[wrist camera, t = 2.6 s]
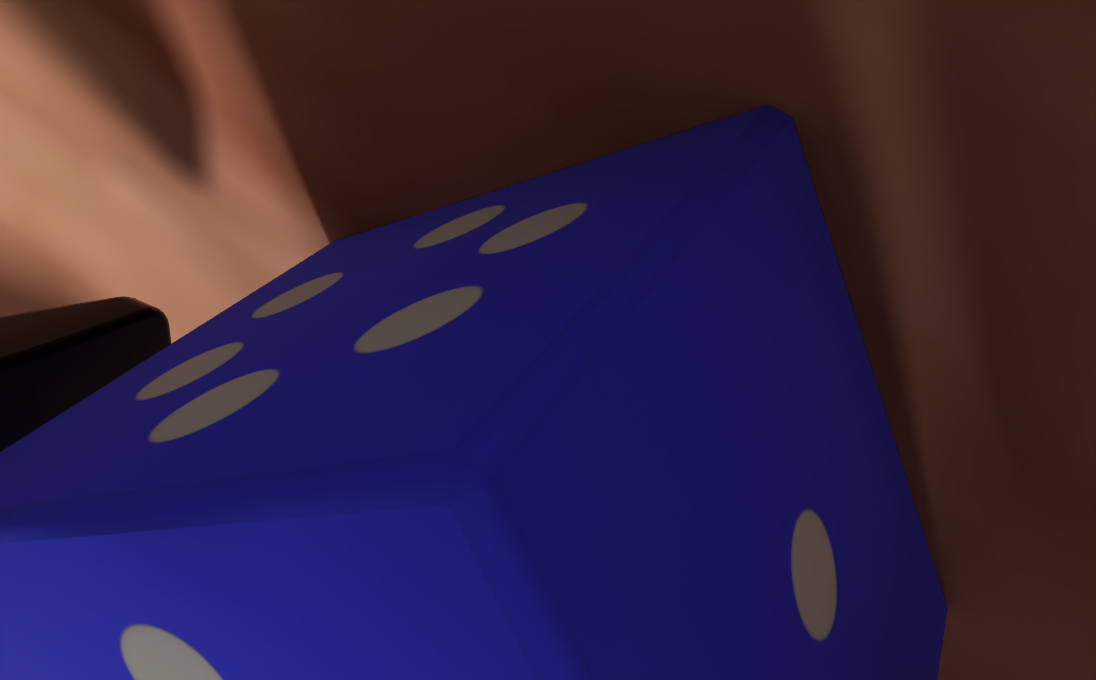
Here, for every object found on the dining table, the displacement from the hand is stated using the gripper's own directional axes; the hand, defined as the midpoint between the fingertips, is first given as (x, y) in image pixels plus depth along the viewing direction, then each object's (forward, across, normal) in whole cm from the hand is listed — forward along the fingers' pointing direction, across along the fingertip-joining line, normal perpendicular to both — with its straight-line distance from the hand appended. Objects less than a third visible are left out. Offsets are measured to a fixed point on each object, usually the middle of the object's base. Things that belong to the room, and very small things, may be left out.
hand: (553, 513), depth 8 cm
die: (+2, 0, 0) cm, 2 cm away
